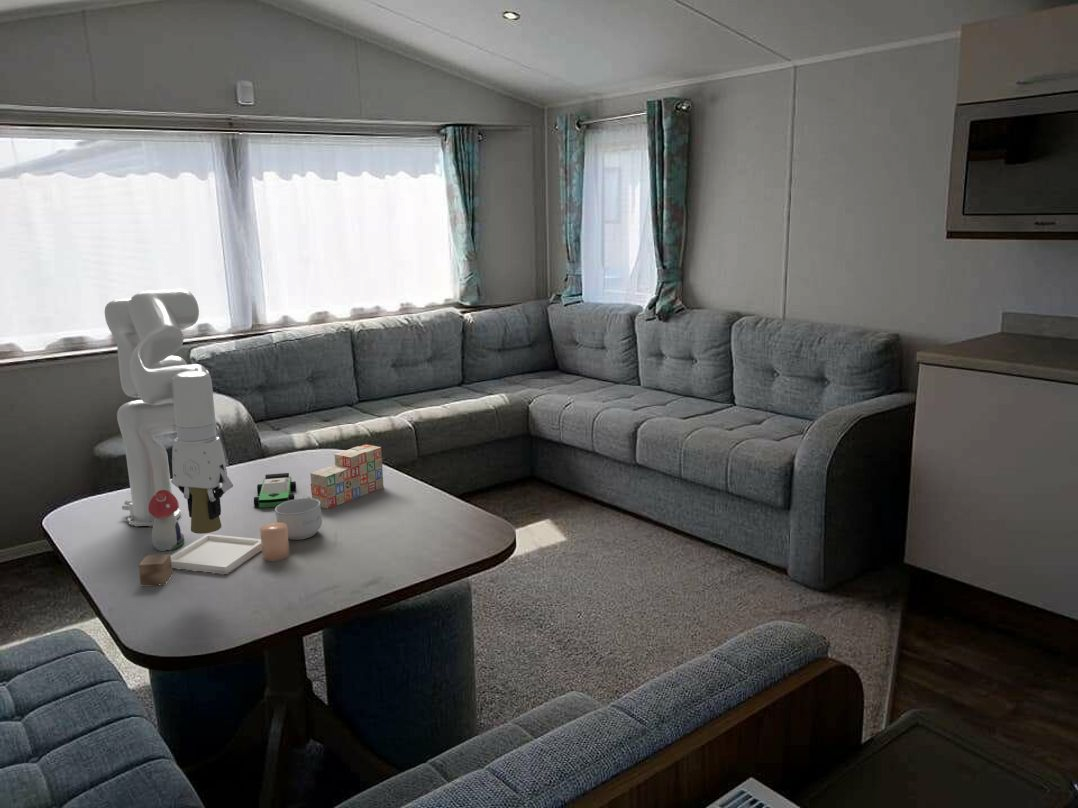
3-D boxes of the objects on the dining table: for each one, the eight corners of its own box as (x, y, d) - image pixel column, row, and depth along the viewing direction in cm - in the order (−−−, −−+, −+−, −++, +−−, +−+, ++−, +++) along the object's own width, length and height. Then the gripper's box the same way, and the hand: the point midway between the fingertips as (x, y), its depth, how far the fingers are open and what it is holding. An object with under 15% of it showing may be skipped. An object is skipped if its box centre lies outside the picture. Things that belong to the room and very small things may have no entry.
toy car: (253, 511, 224) (252, 493, 223) (259, 488, 243) (258, 472, 241) (294, 508, 227) (292, 490, 225) (296, 485, 245) (295, 469, 244)
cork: (196, 522, 179) (190, 473, 176) (225, 522, 179) (220, 473, 177) (186, 534, 173) (181, 483, 170) (216, 533, 174) (211, 482, 171)
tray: (163, 567, 189) (162, 560, 188) (207, 540, 204) (207, 533, 203) (226, 574, 185) (225, 567, 184) (266, 546, 200) (265, 539, 199)
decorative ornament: (173, 554, 196) (166, 493, 193) (145, 554, 196) (138, 493, 193) (190, 538, 205) (183, 480, 202) (163, 539, 205) (156, 480, 202)
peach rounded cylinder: (257, 559, 193) (254, 530, 191) (271, 549, 198) (269, 521, 197) (280, 561, 191) (278, 533, 190) (294, 551, 197) (292, 523, 195)
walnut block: (141, 586, 180) (138, 564, 179) (149, 576, 185) (146, 555, 183) (165, 585, 180) (162, 563, 179) (172, 575, 185) (170, 554, 184)
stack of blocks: (328, 509, 224) (324, 465, 222) (311, 505, 228) (308, 462, 225) (384, 487, 242) (381, 446, 239) (368, 483, 245) (365, 443, 242)
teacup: (310, 545, 201) (308, 513, 199) (269, 542, 203) (266, 510, 201) (335, 524, 214) (333, 494, 212) (296, 521, 216) (294, 491, 214)
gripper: (148, 434, 170) (158, 518, 174) (221, 440, 166) (229, 526, 170) (173, 424, 177) (182, 506, 181) (243, 430, 173) (250, 513, 177)
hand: (205, 515), depth 176 cm, fingers closed on cork, 4 cm apart
